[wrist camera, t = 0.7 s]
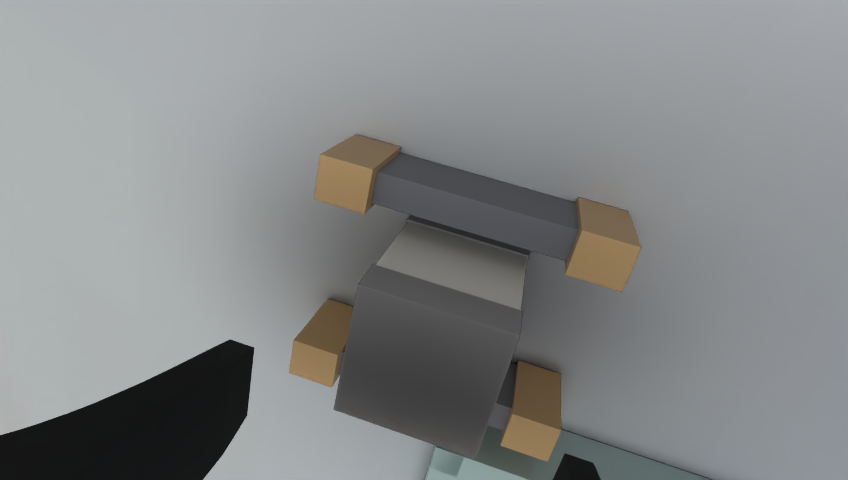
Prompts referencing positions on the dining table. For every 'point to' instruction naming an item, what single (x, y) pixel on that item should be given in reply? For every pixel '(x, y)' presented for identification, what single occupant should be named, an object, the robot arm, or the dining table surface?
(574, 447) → the tray
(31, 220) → the dining table surface
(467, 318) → the gray block
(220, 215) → the dining table surface
